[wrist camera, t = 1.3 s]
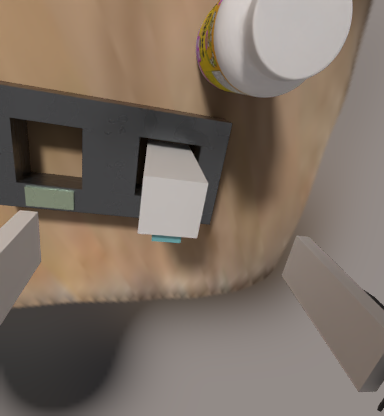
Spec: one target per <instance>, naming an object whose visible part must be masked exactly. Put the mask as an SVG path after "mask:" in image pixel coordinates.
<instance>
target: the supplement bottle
mask: <svg viewBox="0 0 384 416" xmlns="http://www.w3.org/2000/svg"><path fill="white" fill-rule="evenodd" d="M351 20H352V0H219V2H218V3H217V4H216V5H215V6H214V8H213V9H212V10H211V11H210V13H209V14H208V15H207V16H206V18H205V20H204V21H203V23H202V25H201V27H200V29H199V32H198V36H197V41H196V57H197V62H198V65H199V68H200V70H201V72H202V74H203V75H204V77H205V78H206V79H207V80H208V82H210V83H211V84H212V85H213V86H215V87H217V88H218V89H221V90H224V91H228V92H233V93H238V94H244V95H249V96H254V97H262V98H268V97H275V96H279V95H282V94H285V93H287V92H289V91H291V90H293V89H295V88H296V87H298V86H299V85H300V84H302V83H303V82H304V81H305V80H306V79H307V78H309V77H312V76H314V75H316V74H317V73H319V72H321V71H322V70H323V69H325V68H326V67H327V66H328V65H329V64H330V63H331V62H332V61H333V60H334V59H335V57H336V56H337V55H338V53H339V52H340V50H341V48H342V47H343V45H344V43H345V40H346V38H347V36H348V33H349V30H350V26H351Z"/></svg>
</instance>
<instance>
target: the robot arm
mask: <svg viewBox="0 0 384 416" xmlns="http://www.w3.org/2000/svg"><path fill="white" fill-rule="evenodd" d="M40 262H41V251H40V235H39V220H38V212H34V211H23V210H19V211H18V212H17V213H16V214H15V215H14V216H13V217H12V218H11V219H10V220H9V221H8V222H7V223H5V224H4V225H3V226H2V227H1V228H0V325H1V323H2V322H3V320H4V319H5V317H6V315H7V314H8V312H9V311H10V309H11V308H12V306H13V305H14V303H15V301H16V300H17V298H18V297H19V295H20V294H21V292H22V291H23V289H24V287H25V286H26V284H27V283H28V281H29V280H30V278H31V276H32V275H33V273H34V272H35V270H36V269H37V267H38V266H39V264H40ZM282 277H283V279H284V280H285V282H286V283H287V285H288V286H289V288H290V289H291V291H292V292H293V294H294V295H295V297H296V298H297V300H298V301H299V303H300V304H301V306H302V307H303V309H304V310H305V312H306V313H307V315H308V316H309V318H310V319H311V321H312V322H313V324H314V325H315V327H316V328H317V330H318V331H319V333H320V334H321V336H322V337H323V339H324V340H325V342H326V344H327V345H328V346H329V348H330V349H331V351H332V353H333V354H334V355H335V357H336V359H337V360H338V361H339V363H340V365H341V366H342V368H343V369H344V371H345V372H346V373H347V375H348V377H349V378H350V380H351V381H352V383H353V384H354V386H355V387H356V389H357V390H358V392H373V391H377V390H378V388H379V387H380V385H381V384H382V382H383V381H384V306H383V305H382V304H381V303H380V302H379V301H378V300H377V299H376V298H375V297H374V296H372V295H371V294H369V293H368V292H366V291H365V290H363V289H362V288H361V287H360V286H359V285H358V284H357V283H356V282H354V281H353V279H352V278H351V277H349V276H348V275H347V274H346V273H345V272H344V271H343V270H342V269H341V268H340V267H339V266H338V265H337V264H336V263H335V262H334V261H333V260H332V259H331V258H330V257H329V256H328V255H327V254H326V253H325V252H324V251H323V250H322V249H321V248H320V247H319V246H318V245H317V244H316V243H315V242H314V241H313V240H312V239H311V238H310V237H307V236H296V238H295V241H294V243H293V246H292V249H291V252H290V254H289V257H288V260H287V262H286V265H285V268H284V271H283V273H282ZM383 408H384V399H383V400H382V402H381V403H380V404H379V406H378V409H377V410H379V411H382V410H383Z"/></svg>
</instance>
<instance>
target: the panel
mask: <svg viewBox="0 0 384 416" xmlns="http://www.w3.org/2000/svg"><path fill="white" fill-rule="evenodd" d="M27 120H30V121H37V122H43V123H50V124H57V125H64V126H70V127H77V128H83V130H82V178H80V177H72V176H63V175H55V174H46V173H37V172H31V169H30V156H29V143H28V130H27ZM231 127H232V123H231V122H229V121H227V120H225V119H222V118H216V117H210V116H204V115H198V114H193V113H187V112H181V111H175V110H169V109H163V108H157V107H151V106H146V105H140V104H134V103H128V102H122V101H116V100H110V99H104V98H99V97H93V96H87V95H81V94H75V93H69V92H63V91H57V90H52V89H46V88H40V87H34V86H28V85H22V84H16V83H10V82H5V81H0V205H8V206H19V207H30V208H40V209H51V210H61V211H72V212H83V213H93V214H104V215H114V216H125V217H136V218H139V215H140V206H141V196H142V186H143V185H140V184H137V173H138V162H139V151H140V140H141V137H144V138H151V139H158V140H165V141H171V142H178V143H185V144H192V145H196V147H195V153H194V156H195V158H196V160H197V162H198V164H199V166H200V168H201V170H202V172H203V174H204V176H205V178H206V180H207V182H208V188H207V193H206V198H205V203H204V207H203V212H202V217H201V222H200V224H210V221H211V216H212V212H213V207H214V203H215V198H216V194H217V190H218V185H219V181H220V176H221V172H222V167H223V163H224V158H225V154H226V150H227V145H228V141H229V136H230V132H231Z"/></svg>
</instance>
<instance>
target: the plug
mask: <svg viewBox="0 0 384 416" xmlns="http://www.w3.org/2000/svg"><path fill="white" fill-rule="evenodd" d="M207 188H208V182H207V180H206V178H205V176H204V174H203V172H202V170H201V168H200V166H199V164H198V162H197V160H196V158H195V156H194V155H193V153H192V151H191V149H190V147H189V145H184V144H177V143H170V142H163V141H157V140H150V139H148V144H147V152H146V160H145V168H144V176H143V186H142V196H141V206H140V215H139V225H138V233H139V234H151V235H152V241H160V242H172V243H180V242H181V237H187V238H197V236H198V231H199V227H200V222H201V217H202V212H203V207H204V203H205V198H206V193H207Z"/></svg>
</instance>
